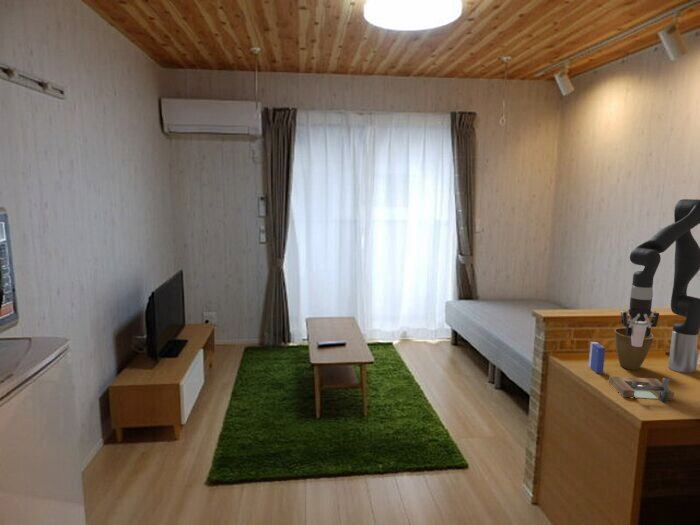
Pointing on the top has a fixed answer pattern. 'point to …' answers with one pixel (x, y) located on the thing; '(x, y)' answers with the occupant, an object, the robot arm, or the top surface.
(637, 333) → the smoothie
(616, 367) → the top surface
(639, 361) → the plant pot
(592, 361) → the walkman
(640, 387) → the dark grey piece
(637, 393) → the bay mat
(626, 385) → the tan frame
